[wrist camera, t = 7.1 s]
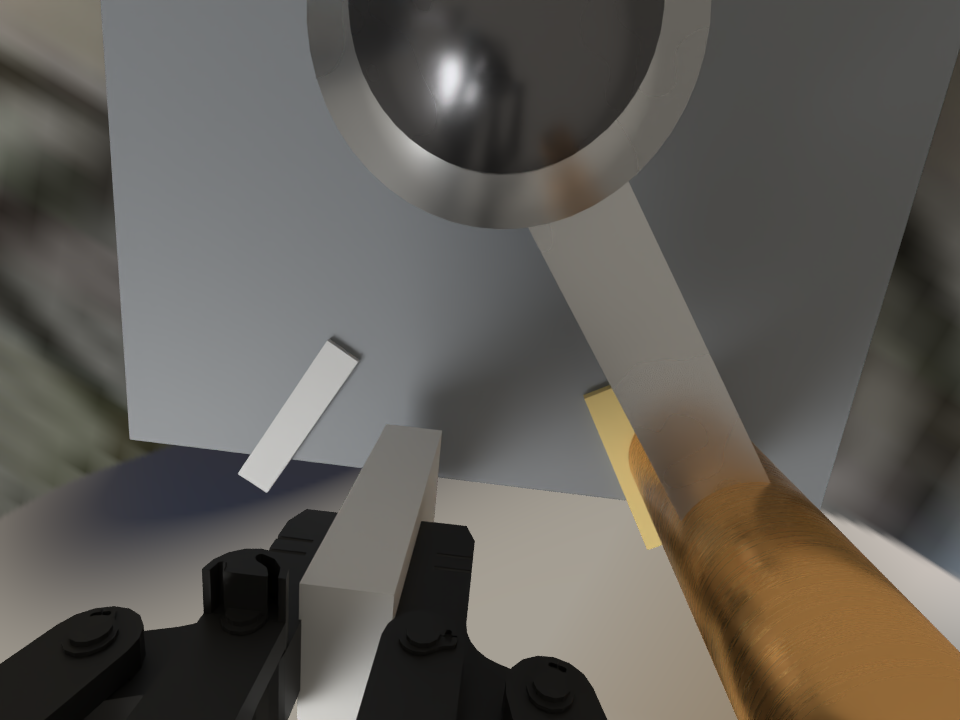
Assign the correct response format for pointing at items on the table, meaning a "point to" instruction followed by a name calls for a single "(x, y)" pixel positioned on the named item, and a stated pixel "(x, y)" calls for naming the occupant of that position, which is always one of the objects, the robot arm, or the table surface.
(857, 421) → the table surface
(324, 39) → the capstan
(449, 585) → the robot arm
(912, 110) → the base plate
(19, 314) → the table surface
